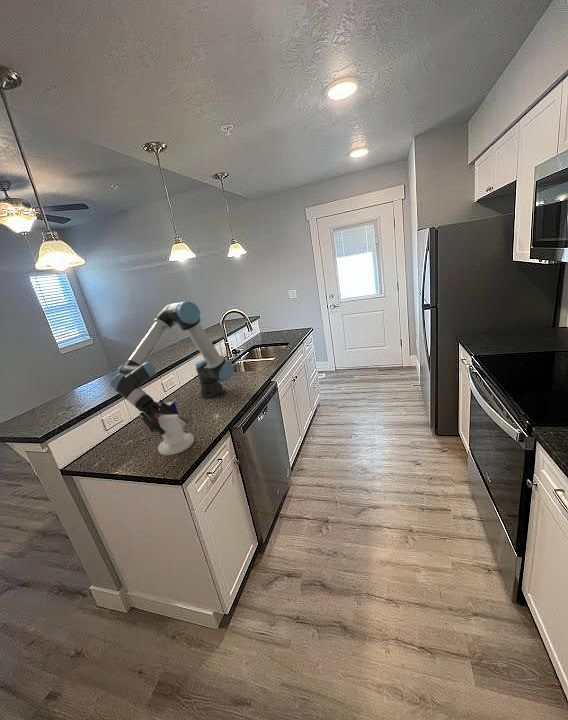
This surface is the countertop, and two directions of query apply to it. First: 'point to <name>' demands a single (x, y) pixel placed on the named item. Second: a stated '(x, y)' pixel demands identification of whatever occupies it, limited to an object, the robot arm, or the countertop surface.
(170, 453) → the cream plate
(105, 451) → the countertop surface
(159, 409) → the puzzle cube
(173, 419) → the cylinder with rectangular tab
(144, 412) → the robot arm
